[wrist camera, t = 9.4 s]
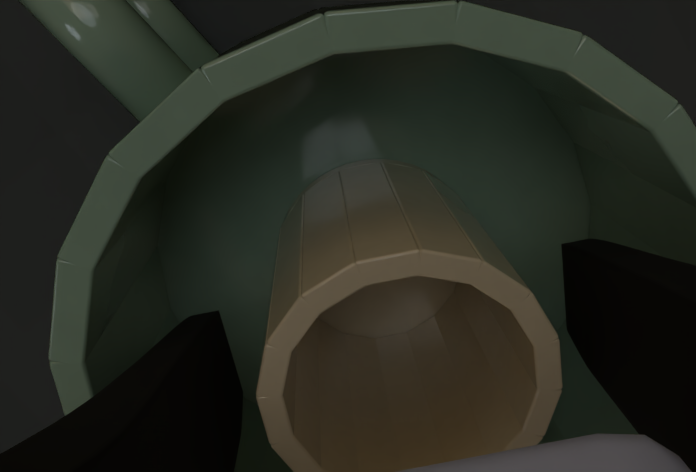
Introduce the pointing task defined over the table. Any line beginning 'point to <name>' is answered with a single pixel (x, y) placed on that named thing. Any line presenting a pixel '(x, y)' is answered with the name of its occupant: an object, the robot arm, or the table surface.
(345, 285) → the cup
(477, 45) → the green handled tub
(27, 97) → the table surface
